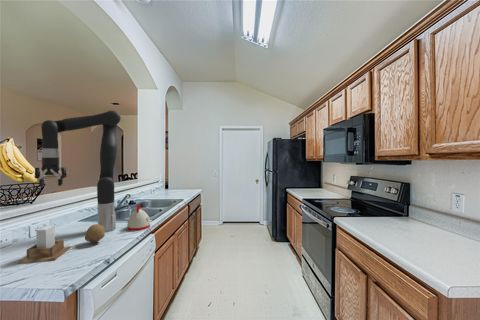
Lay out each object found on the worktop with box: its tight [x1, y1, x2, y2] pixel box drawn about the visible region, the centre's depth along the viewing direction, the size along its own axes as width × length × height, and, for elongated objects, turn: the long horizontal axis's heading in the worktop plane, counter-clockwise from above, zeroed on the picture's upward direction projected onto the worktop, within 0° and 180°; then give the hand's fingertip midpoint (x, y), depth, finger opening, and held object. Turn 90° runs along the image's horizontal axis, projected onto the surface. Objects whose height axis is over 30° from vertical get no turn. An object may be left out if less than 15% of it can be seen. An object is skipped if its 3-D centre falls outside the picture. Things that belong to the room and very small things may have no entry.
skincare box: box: [36, 225, 56, 248], centre depth 110 cm, size 6×4×12 cm
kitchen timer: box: [126, 204, 151, 232], centre depth 153 cm, size 14×14×15 cm
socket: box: [17, 239, 71, 264], centre depth 110 cm, size 14×14×5 cm
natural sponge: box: [84, 223, 106, 244], centre depth 126 cm, size 9×9×10 cm
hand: (51, 185), depth 130 cm, fingers open, 8 cm apart
